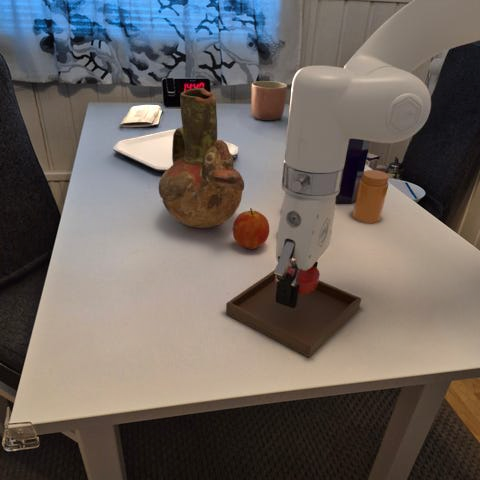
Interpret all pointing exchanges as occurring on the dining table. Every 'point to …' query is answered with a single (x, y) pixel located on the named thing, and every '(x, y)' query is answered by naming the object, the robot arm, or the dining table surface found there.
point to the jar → (371, 196)
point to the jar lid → (305, 279)
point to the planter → (268, 99)
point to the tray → (294, 313)
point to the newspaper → (142, 116)
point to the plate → (154, 149)
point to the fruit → (250, 229)
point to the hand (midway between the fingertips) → (295, 291)
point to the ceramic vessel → (200, 167)
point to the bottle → (352, 170)
